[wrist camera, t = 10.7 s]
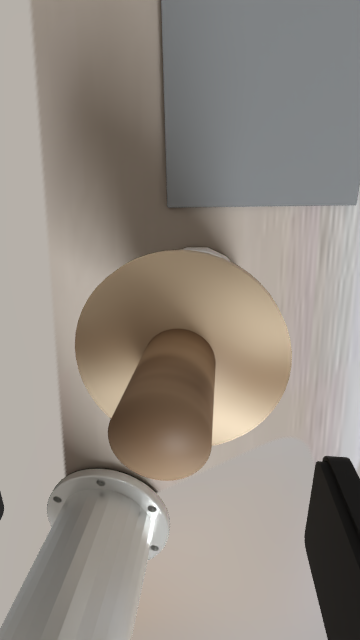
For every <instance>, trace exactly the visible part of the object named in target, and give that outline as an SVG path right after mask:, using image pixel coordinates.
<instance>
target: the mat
mask: <svg viewBox="0 0 360 640" xmlns="http://www.w3.org/2000/svg"><path fill="white" fill-rule="evenodd" d="M161 7H162V41H163V74H164V108H165V142H166V176H167V207H246V206H327V205H356V203H357V197H358V191H359V185H360V0H161Z"/></svg>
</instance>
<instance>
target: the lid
mask: <svg viewBox="0 0 360 640" xmlns="http://www.w3.org/2000/svg"><path fill="white" fill-rule="evenodd" d="M75 352H76V360H77V365H78V369H79V372H80V375H81V378H82V380H83V383H84V384H85V386H86V388H87V390H88V392H89V394H90V395H91V397H92V398H93V400H94V401H95V403H96V404H97V405H98V406H99V407H100V408H101V409H102V411H103V412H104V413H105V414H106V415H108V416H109V417H110V418H111V420H110V423H109V427H108V439H109V443H110V446H111V448H112V450H113V452H114V454H115V455H116V457H117V458H118V459H119V460H120V461H121V463H123V464H124V465H125V466H126V467H127V468H129V469H130V470H132V471H133V472H135V473H137V474H139V475H141V476H144V477H147V478H150V479H155V480H164V481H169V480H178V479H182V478H185V477H188V476H190V475H192V474H194V473H195V472H197V471H198V470H199V469H201V468H202V467H203V465H204V464H205V463H206V461H207V460H208V458H209V456H210V452H211V447H212V446H214V445H219V444H222V443H225V442H228V441H231V440H234V439H236V438H238V437H240V436H242V435H244V434H246V433H247V432H249V431H251V430H252V429H254V428H255V427H256V426H257V425H259V424H260V423H261V422H262V421H264V420H265V418H266V417H267V416H268V415H269V414H270V413H271V412H272V411H273V409H274V408H275V407H276V405H277V404H278V403H279V401H280V399H281V397H282V395H283V393H284V391H285V389H286V386H287V383H288V380H289V376H290V370H291V360H292V351H291V343H290V337H289V333H288V330H287V326H286V324H285V322H284V319H283V317H282V315H281V313H280V311H279V308H278V306H277V305H276V303H275V301H274V300H273V298H272V297H271V295H270V294H269V293H268V291H267V290H266V289H265V288H264V287H263V286H262V284H261V283H260V282H259V281H257V280H256V279H255V278H254V277H253V276H252V275H251V274H250V273H248V272H247V271H245V270H244V269H242V268H241V267H239V266H238V265H236V264H234V263H232V262H230V261H228V260H226V259H224V258H221V257H218V256H215V255H212V254H209V253H204V252H199V251H193V250H167V251H160V252H155V253H150V254H147V255H144V256H142V257H139V258H136V259H134V260H132V261H130V262H128V263H127V264H125V265H123V266H122V267H120V268H119V269H117V270H116V271H115V272H113V273H112V274H111V275H109V276H108V277H107V278H106V279H105V280H104V281H103V282H102V283H101V284H100V285H98V286H97V288H96V289H95V290H94V291H93V293H92V294H91V295H90V297H89V298H88V300H87V302H86V304H85V306H84V307H83V309H82V312H81V315H80V318H79V320H78V325H77V329H76V337H75Z"/></svg>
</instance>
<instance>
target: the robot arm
mask: <svg viewBox="0 0 360 640" xmlns="http://www.w3.org/2000/svg"><path fill="white" fill-rule="evenodd" d="M3 511H4V505H3V501H2V497H1V493H0V520H1V517H2V515H3ZM47 514H48V519H49V522H50V524H51V527H52V528H51V530H50V532H49V534H48V536H47V538H46V540H45V542H44V543H43V545H42V547H41V549H40V551H39V554H38V555H37V558H36V559H35V561H34V563H33V565H32V567H31V569H30V571H29V573H28V575H27V577H26V579H25V581H24V583H23V585H22V587H21V589H20V591H19V593H18V595H17V597H16V599H15V601H14V602H13V604H12V607H11V608H10V610H9V612H8V614H7V616H6V618H5V620H4V622H3V624H2V626H1V628H0V640H131V638H132V633H133V628H134V623H135V619H136V614H137V609H138V604H139V599H140V594H141V589H142V584H143V580H144V575H145V570H146V565H147V560H149V559H151V558H153V557H154V556H156V555H157V554H158V553H159V552H160V551H161V550H162V549H163V548H164V546H165V544H166V542H167V539H168V535H169V528H170V518H169V515H168V511H167V508H166V507H165V505H164V503H163V501H162V500H161V499H160V497H159V496H158V495H157V494H156V493H155V492H154V491H153V490H152V489H151V488H150V487H148V486H147V485H146V484H144V483H143V482H141V481H139V480H138V479H136V478H134V477H132V476H129V475H127V474H125V473H121V472H118V471H114V470H107V469H86V470H81V471H77V472H75V473H72V474H70V475H68V476H66V477H65V478H64V479H62V480H61V481H60V482H59V483H58V484H57V485H56V487H55V488H54V490H53V492H52V494H51V495H50V497H49V501H48V504H47ZM305 547H306V552H307V556H308V560H309V564H310V569H311V573H312V577H313V581H314V584H315V589H316V593H317V597H318V601H319V605H320V609H321V613H322V617H323V622H324V626H325V630H326V633H327V637H328V640H360V478H359V476H358V474H357V472H356V470H355V468H354V466H353V464H352V462H351V461H350V459H349V458H347V457H332V456H324V458H323V461H322V462H319V461H318V462H316V465H315V472H314V478H313V485H312V491H311V498H310V504H309V510H308V517H307V523H306V530H305Z"/></svg>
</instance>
